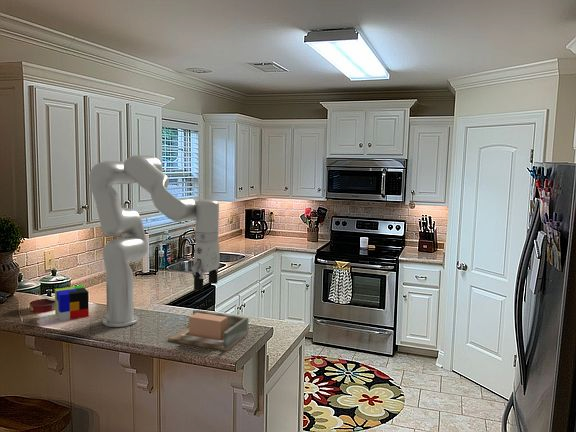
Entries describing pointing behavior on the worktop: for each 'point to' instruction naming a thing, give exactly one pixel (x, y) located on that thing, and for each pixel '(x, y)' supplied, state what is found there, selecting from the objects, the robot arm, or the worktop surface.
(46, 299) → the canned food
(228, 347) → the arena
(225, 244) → the worktop surface
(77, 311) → the puzzle toy
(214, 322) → the block
